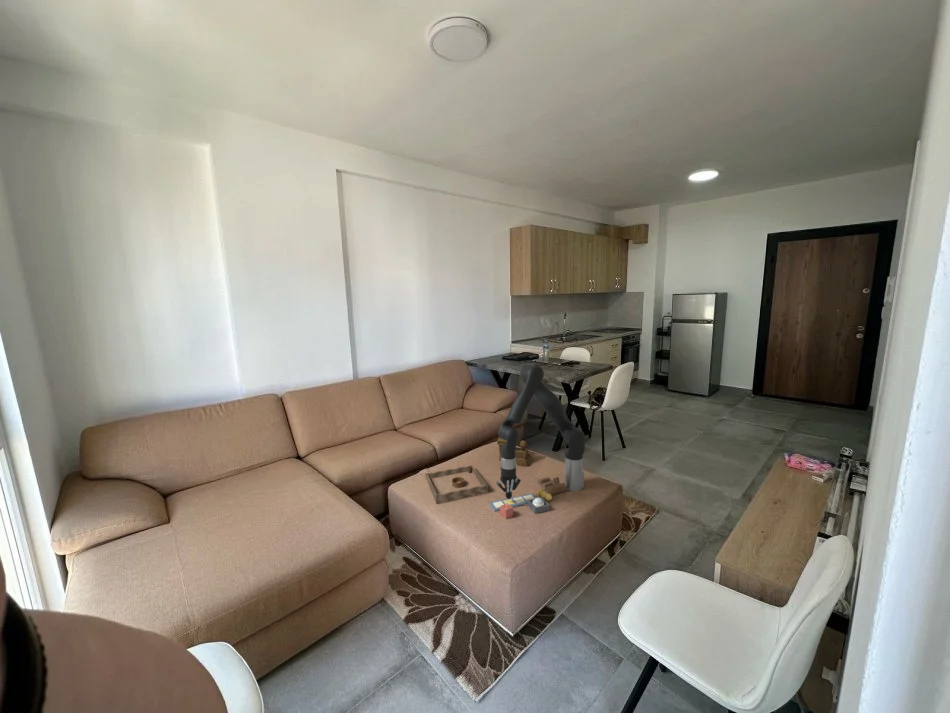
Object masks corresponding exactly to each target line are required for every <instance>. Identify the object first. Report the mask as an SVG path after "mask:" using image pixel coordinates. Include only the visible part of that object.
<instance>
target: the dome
mask: <svg viewBox="0 0 950 713" xmlns="http://www.w3.org/2000/svg"><path fill="white" fill-rule="evenodd" d="M533 505H534V506H535V507H538V506H543V505H544V501H543V500H542V499H541V498H539V497H536V498H535V499H534V500H533Z"/></svg>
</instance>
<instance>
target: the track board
mask: <svg viewBox="0 0 950 713" xmlns="http://www.w3.org/2000/svg"><path fill="white" fill-rule="evenodd" d="M525 495H526V494H523V496H522V495H519V497H518V496H513V497H511V499H507V498H504V499H499V500H495V501H490V502H489V503H490V504H489V506H490V507H491V506H492V507H491V508H492V510H493V509H494V510H493V511H494V512H500V511H499V510H500V506H502V505H504V504H509V505H510V506H512V507H514V508H517V507H516V506H518V507H521V506H520V505H522V506H525V505H524V504H527V500H530V499H534V498H537V496H535V495H534V494H533V493H531V492H530V493H527V495H526V496H525Z"/></svg>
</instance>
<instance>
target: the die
mask: <svg viewBox="0 0 950 713" xmlns="http://www.w3.org/2000/svg"><path fill="white" fill-rule="evenodd" d="M499 515H500V516H501V517H502V518H504V519H505V520H507V519H508V518H511V517H513V516H514V508H513V507H512V506H510V505H509V504H504V505H502V506H500V511H499Z"/></svg>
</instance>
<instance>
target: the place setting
mask: <svg viewBox="0 0 950 713" xmlns="http://www.w3.org/2000/svg"><path fill="white" fill-rule="evenodd" d="M468 466H469V467H467V469H468V471H467V472H468V473H472V467H470V466H471V465H468ZM465 480H466V479H465V478H463V476H462V477H461V476H457V477H454V478H452V479H451V485H452V487H453V488H456V489H459V488H463V487H464V486H465V484H466V483H465Z"/></svg>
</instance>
